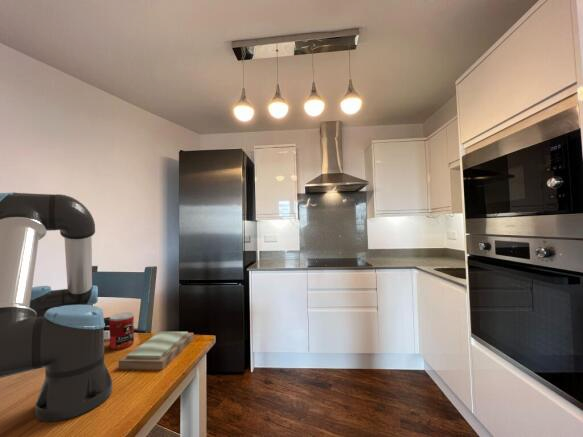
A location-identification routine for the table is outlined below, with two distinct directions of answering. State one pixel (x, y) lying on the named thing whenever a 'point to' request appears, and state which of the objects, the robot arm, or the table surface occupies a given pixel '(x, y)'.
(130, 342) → the canned food
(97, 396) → the robot arm
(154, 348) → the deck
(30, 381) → the table surface
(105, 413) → the table surface
